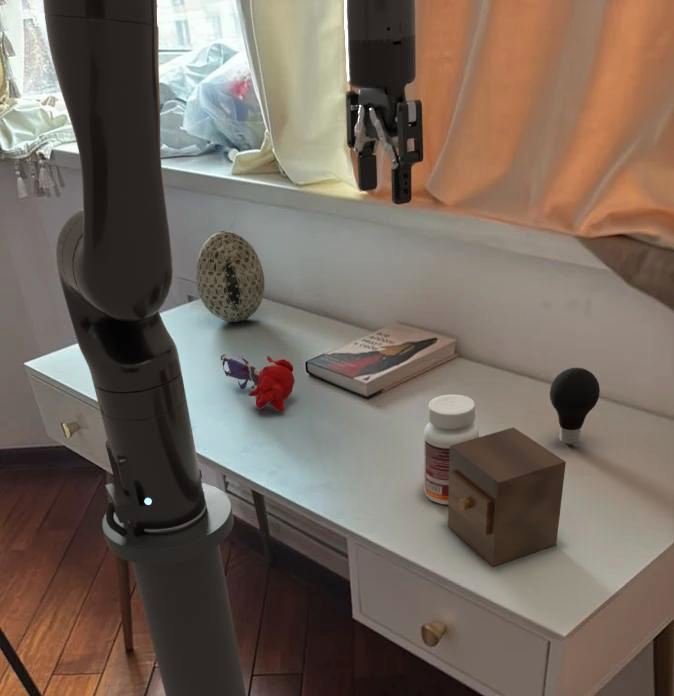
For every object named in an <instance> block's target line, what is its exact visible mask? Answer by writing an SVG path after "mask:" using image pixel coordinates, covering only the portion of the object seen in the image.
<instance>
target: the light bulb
mask: <svg viewBox="0 0 674 696" xmlns="http://www.w3.org/2000/svg"><path fill="white" fill-rule="evenodd" d="M549 389H550V390H549V399H550V402H551V405H552V407H553V409H555V411H556V413H557V419H558V424H559V427H560V428H559V437H558V439H559V441H560V442H562V443H563V444H564V445H565V446H572V445H573V444H576V443H577V442H579V440H580V436H581V430H582V427H583V425H584V423H585V420H586V418H587V415H588V414H589V413H590V412H591V411H592V410H593V409H594V408H595V406H596V405H597V403H598V401H599V399H600V392H601V391H600V389H601V388H600V384H599V381H598V378H597V377H596V375H594V374H593V373H592V372H591V371H589V370H588V369H585V368H583V367H570V368H567V369H565V370H563V371H561V372H560V373H559V374H557V376H556V377H555V378H554V379H553V380H552V383H551V385H550V388H549Z"/></svg>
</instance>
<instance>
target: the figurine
mask: <svg viewBox="0 0 674 696" xmlns="http://www.w3.org/2000/svg"><path fill="white" fill-rule="evenodd" d="M238 357H239V358H240V359H241V360H242V361H243V362H244V363H243V362H241V361H239V360H237V359H234V358H232V357H230V358H228V355H227V354H222V355H221V356H220V360H221V361H222V369H223V372H224V374H225V377H230V378H234V379H237V383H238V386H239V387H240V390H243V391H244V390H245V389H246V388H247V385H248V382H249V381H250V382H252V383H253V384H251V386H250V387H249V390H250V391H251V392H249V393H248V394H247V396H249V397H256V398H255V406H256V408H258V409H260V410H261V409H264V408H265V406H267V405H268V404H269V403H270V405H271V406H272V408H273V409H275V410H276V411H278V412H282V413H283V412H285V408H284V406H285V401H286V400H287V399H288V398H289V396H290V395H291V394H292V392H293V389H294V386H295V383H296V380H295V375H294V374H293V371H294V365H293V364H292V363H291V362H290V361H289V360H286V359H284V358H280V359H278V360H274V359H272V357H271V356H269V355H268V354H267V355H266V360H267V361H268V362H269V363H273V364H269V365H264V366H263V367H262V368H261V369H258V368H257V367H255V366H254V365H252V364H250V362H249V361H248V360H246V359H245V358H244V356H243V355H242V354H239V356H238ZM225 363H227V367H228V371H227V370H226V369H225V365H226V364H225ZM240 380H241V381H242V380H243V381H244V382H243V383H240Z"/></svg>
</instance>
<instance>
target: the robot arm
mask: <svg viewBox="0 0 674 696" xmlns="http://www.w3.org/2000/svg"><path fill="white" fill-rule="evenodd" d="M42 2H43V12H44V13H43V14H44V21H45V22H44V23H45V27H46V34H47V35H46V36H47V41H48V47H49V51H50V52H49V53H50V56H51V61H52V63H53V69H54V71H55V75H56V79H57V82H58V87H59V89H60V92H61V95H62V98H63V101H64V105H65V109H66V111H67V114H68V118H69V120H70V124H71V127H72V130H73V135H74V137H75V141H76V146H77V150H78V155H79V163H80V170H81V181H82V182H81V185H82V204H83V205H82V209H80V210H78V211H76V212H74V213H73V214H72V215H71V216H70V217H69V218H68V219H67V220H66V221H65V222H64V224H63V225H62V227H61V229H60V231H59V233H58V236H57V239H56V246H55V259H56V260H55V261H56V268H57V272H58V273H57V274H58V278H59V281H60V285H61V289H62V294H63V296H64V300H65V303H66V307H67V310H68V315H69V319H70V322H71V324H72V328H73V332H74V336H75V339H76V342H77V345H78V348H79V350H80V352H81V354H82V356H83V359H84V361H85V362H86V364H87V367H88V370H89V373H90V377H91V380H92V383H93V388H94V393H95V395H96V396H95V397H96V400H97V404H98V408H99V412H100V416H101V420H102V425H103V429H104V432H105V436H106V441H105V442H104V443H105V447H106V452H107V455H108V456H107V457H108V460H109V465H110V467H111V472H112V475H113V478H114V482H111V483H107V484H104V487H105V491H106V492H105V493H106V496H107V499H108V504H107V508H106V512H105V514H106V521H107V523H108V525H109V527H110V528H111V529H112V530H114V531H115V532H117V533H118V534H120V535H121V536H122V537H123V536H125V535H126V534H127V533H128V532H127V530H126V529H124V528H123V527H121V526H120V525H119V524H117V523H116V522H115V520H114V512H115V514H116V516H117V518H118V520H119V522H120V523H123V522H126V521H127V523H128V525H129V526H130V528H131V529H132V531H133V533H134V535H135V536H136V537H138V536H141V535H167V534H173V533H177V532H180V531H183V530H186V529H188V528H190V527H192V526H194V525H195V524H197V523H198V522H200V521H201V520H202V519H203V517H204V516H205V514H206V512H207V504H206V500H205V496H204V491H203V487H202V483H203V481H202V479H203V475H202V472H201V471H202V470H201V469H200V465H199V460H198V454H197V449H196V444H195V439H194V433H193V427H192V422H191V416H190V411H189V406H188V400H187V395H186V389H185V384H184V378H183V373H182V367H181V366H182V365H181V361H180V356H179V350H178V347H177V345H176V342H175V341H174V339H173V338H172V335H170V333H169V331H168V329H167V327H166V325H165V323H164V321H163V318H162V316H161V313H160V309H162V306H163V305H164V304H165V302H166V300H167V298H168V296H169V293H170V291H171V287H172V284H173V283H172V282H173V275H174V259H173V249H172V242H171V241H172V239H171V235H170V227H169V219H168V211H167V203H166V196H165V195H166V194H165V188H164V178H163V177H164V176H163V168H162V150H161V149H162V147H161V145H162V144H161V96H160V94H161V92H160V91H161V90H160V64H159V63H160V61H159V60H160V59H159V58H160V57H159V56H160V55H159V53H160V52H159V45H160V43H159V42H160V41H159V40H160V39H159V37H160V35H159V34H160V33H159V32H160V31H159V3H158V2H159V1H158V0H42ZM343 5H344V7H343V10H344V11H343V13H344V14H343V15H344V16H343V17H344V35H345V53H346V54H345V59H346V78H347V84H348V85H349V86H351V87H352V88H356V89H354V90H348V91H346V92H345V116H346V117H345V119H346V122H345V123H346V144H347V147H348V149H353V153H354V156H355V157H357V178H358V179H357V180H358V182H357V183H358V189H359V190H360V191H362V192H366V191H373V190H376V189H377V187H378V168H377V167H378V165H377V163H378V161H377V155H376V152H377V149H378V146H379V143H380V146H381V149H382V150H384V151H385V152H387V156H388V158H389V161H390V165H391V169H390V174H391V175H390V177H391V179H390V181H391V202H392V203H393V204H394V205H403V204H408V203H410V202H411V201H412V197H413V195H412V194H413V193H412V167H413V166H415V165H416V164H417V163H422V162H423V160H424V130H423V129H424V128H423V127H424V125H423V103H422V101H421V99H412V100H407V97H406V90H405V88H406V86H407V85H408V84H411V83H413V82H414V81H415V79H416V73H417V72H416V69H417V66H416V64H417V63H416V61H417V60H416V59H417V57H416V54H417V53H416V52H417V51H416V1H415V0H344V4H343ZM412 141H413V147H412ZM397 149H398V150H397Z"/></svg>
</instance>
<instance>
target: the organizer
mask: <svg viewBox="0 0 674 696" xmlns="http://www.w3.org/2000/svg"><path fill="white" fill-rule="evenodd" d="M566 464H567V461H565V460H564V459H562V458H561V457H560V456H558V455H557V454H555V453H554V452H552V451H551V450H549V449H547V447H544V446H543V445H541V444H540V443H538V442H537V441H535V440H534V439H532V438H531V437H529V436H527V435H526V434H524V433H523V432H521V431H520V430H518V429H517V428H515V427H509V428H506V429H503V430H500V431H496V432H492V433H490V434H485V435H482V436H479V438H475V439H472V440H468V441H465V442H461V443H458V444H455V445H451V446H450V453H449V500H448V506H447V507H448V509H447V527H448V528H449V529H450V530H451V531H452V532H454V534H455V535H457V536H458V537H459V538H460V539H461V540H463V541H464V542H465V544H467V545H468V546H469V547H470V548H471V549H473V550H474V551H475V552H476V553H477V554H478V555H479V556H480V557H482V558H483V559H484V560H485V561H486V562H487V563H488V564H489V565H490V566H492V567H497V566H500V565H503V564H505V563H508V562H511V561H514V560H516V559H519V558H523V557H525V556H528V555H531V554H534V553H537V552H540V551H543V550H545V549H548V548H551V547H555V546H557V544H558V543H557V541H558V534H559V524H560V516H561V507H562V499H563V489H564V482H565V481H564V480H565V474H566V473H565V472H566V466H567V465H566Z"/></svg>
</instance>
